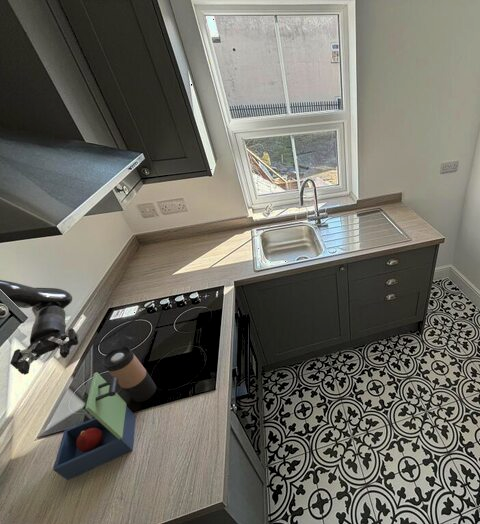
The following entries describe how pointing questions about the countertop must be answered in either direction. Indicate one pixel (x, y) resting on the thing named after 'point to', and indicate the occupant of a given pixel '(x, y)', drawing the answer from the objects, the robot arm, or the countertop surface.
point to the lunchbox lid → (107, 404)
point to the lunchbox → (111, 447)
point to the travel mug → (129, 374)
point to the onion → (89, 439)
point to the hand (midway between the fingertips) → (44, 363)
